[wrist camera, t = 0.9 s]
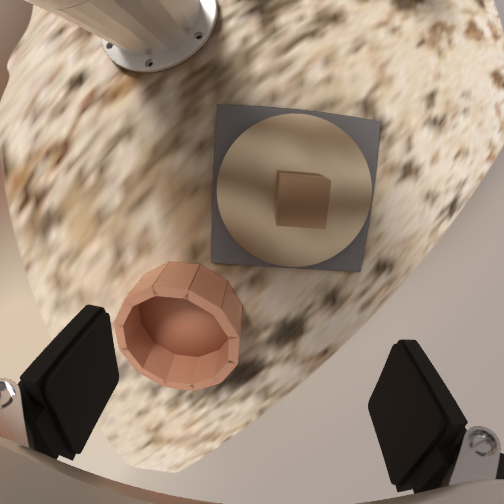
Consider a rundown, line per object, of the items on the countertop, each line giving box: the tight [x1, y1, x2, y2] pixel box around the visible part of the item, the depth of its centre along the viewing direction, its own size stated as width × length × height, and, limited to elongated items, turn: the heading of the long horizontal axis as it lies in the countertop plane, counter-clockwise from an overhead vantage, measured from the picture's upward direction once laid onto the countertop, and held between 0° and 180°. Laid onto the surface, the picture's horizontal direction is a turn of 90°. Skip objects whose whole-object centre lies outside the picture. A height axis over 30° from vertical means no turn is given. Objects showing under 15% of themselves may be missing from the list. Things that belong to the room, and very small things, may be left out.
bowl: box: [114, 262, 243, 391], centre depth 33 cm, size 13×13×6 cm
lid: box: [217, 114, 372, 267], centre depth 27 cm, size 15×15×6 cm
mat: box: [211, 105, 380, 272], centre depth 30 cm, size 16×16×1 cm
